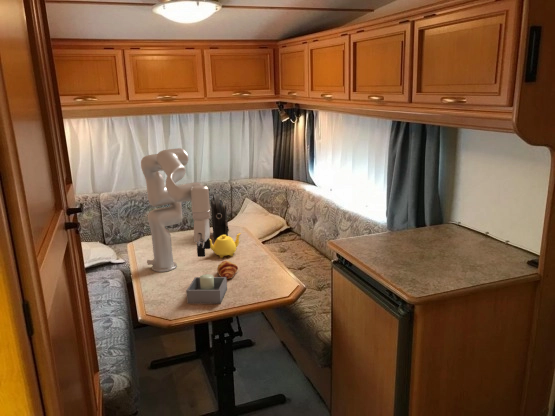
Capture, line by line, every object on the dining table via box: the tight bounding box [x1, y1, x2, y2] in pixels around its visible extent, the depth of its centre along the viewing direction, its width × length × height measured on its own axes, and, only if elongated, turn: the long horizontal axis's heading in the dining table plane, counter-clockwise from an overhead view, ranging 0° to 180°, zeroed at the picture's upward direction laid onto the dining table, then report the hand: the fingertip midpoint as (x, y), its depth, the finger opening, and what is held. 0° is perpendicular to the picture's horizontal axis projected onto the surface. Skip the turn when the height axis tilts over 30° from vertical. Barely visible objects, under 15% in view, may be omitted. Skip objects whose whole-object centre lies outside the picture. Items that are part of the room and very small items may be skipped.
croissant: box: [216, 260, 239, 280], centre depth 228 cm, size 21×10×8 cm, turn 6°
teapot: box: [210, 232, 242, 259], centre depth 255 cm, size 20×15×12 cm
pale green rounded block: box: [199, 273, 215, 290], centre depth 203 cm, size 6×6×8 cm
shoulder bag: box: [210, 193, 230, 242], centre depth 284 cm, size 23×9×28 cm, turn 15°
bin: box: [185, 276, 228, 305], centre depth 203 cm, size 15×15×6 cm
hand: (204, 252), depth 200 cm, fingers open, 9 cm apart
